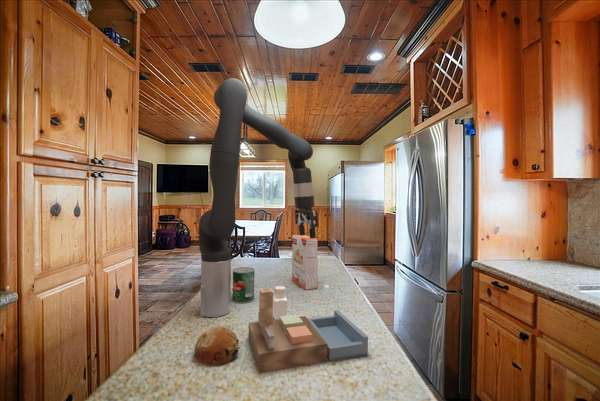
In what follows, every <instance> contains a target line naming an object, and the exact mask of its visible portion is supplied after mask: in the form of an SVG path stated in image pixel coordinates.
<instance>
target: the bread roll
mask: <svg viewBox="0 0 600 401" xmlns="http://www.w3.org/2000/svg"><path fill="white" fill-rule="evenodd" d="M239 340H240V339H239V338H238V336H237V335H236V333H235V332H234V331H233V330H232V329H231V328H230V327H227V326H221V325H220V326H219V325H218V326H215V327H212V328H209V329H207V330H206V331H204V332H203V333H202V334H201V335H200V336H199V337H198V339H197V341H196V343H195V346H194V355H195V358H196V360H197V361H198V362H200V363H202V364H205V365H209V366H216V365H217V366H218V365H220V366H221V365H224V364H227V363H228V362H230V361H233V359H235V358H236V357H237V354H238V353H239V349H240V345H239V342H240V341H239Z"/></svg>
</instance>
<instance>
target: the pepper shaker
mask: <svg viewBox="0 0 600 401" xmlns="http://www.w3.org/2000/svg"><path fill="white" fill-rule="evenodd" d="M280 316H288V298H287V296H286V287H285V286H283V285H279V286H278V285H277V286H275V287H274V296H273V320H276V319H280Z"/></svg>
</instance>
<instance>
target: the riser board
mask: <svg viewBox="0 0 600 401" xmlns="http://www.w3.org/2000/svg"><path fill="white" fill-rule="evenodd" d="M299 317H300V319H301V320H302V321H303V326H305V325H306V327H307V328H308V329H309V331H310V332H311V333H312V341H311V342H304V343H297V344H292V343H291V342H290V340H289V338H288V336H287V335H286V330H285V331H284V329H283V328H282V326H281V324H280V319H276V320H275V319H273V325H270V328H271V330H272V332H273V334H274V349H273V350H269V349H268V347H267V344H266V341H265V339H264V336H263V334H262V331H261V329H260V326H259V324H258V321H250V322H248V341H249V345H250V348H251V351H252V355H253V358H254V361H255V364H256V369H257V371H258V373H263V372H268V371H269V372H270V371H276V370H281V369H287V368H294V367H300V366H304V365H305V366H306V365H311V364H317V363H323V362H328V359H327V343H326V341H325V340H324V339H323V338H322V336H321V335H320V334H319V333H318V331H317V330H316V329H315V328H314V326H313V325H312V324H311V323H310V321H309V320H308V317H307V316H305V315H304V316H303V315H302V316H299Z"/></svg>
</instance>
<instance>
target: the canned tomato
mask: <svg viewBox="0 0 600 401" xmlns="http://www.w3.org/2000/svg"><path fill="white" fill-rule="evenodd" d="M255 274H256V273H255V268H253V267H249V266H241V267H235V268H233V269H232V295H231V298H232V302H233V303H236V304H247V303H251V302H253V301H254V300H255Z"/></svg>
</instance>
